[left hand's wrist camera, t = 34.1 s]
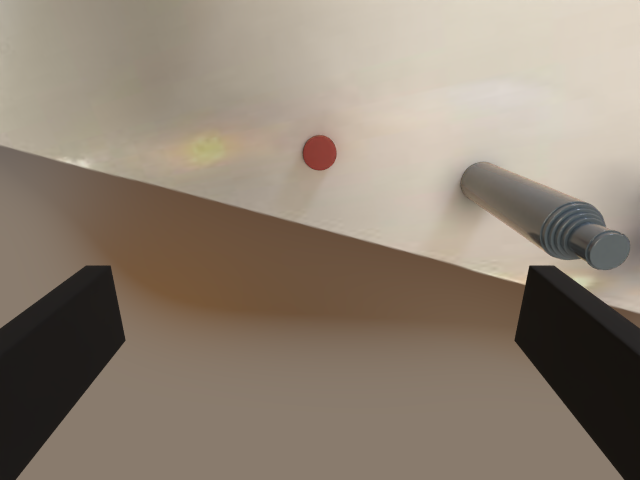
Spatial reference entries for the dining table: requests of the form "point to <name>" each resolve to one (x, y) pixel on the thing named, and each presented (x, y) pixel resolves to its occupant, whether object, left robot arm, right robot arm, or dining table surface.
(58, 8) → the dining table surface
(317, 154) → the cap
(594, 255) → the bottle
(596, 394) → the left robot arm
